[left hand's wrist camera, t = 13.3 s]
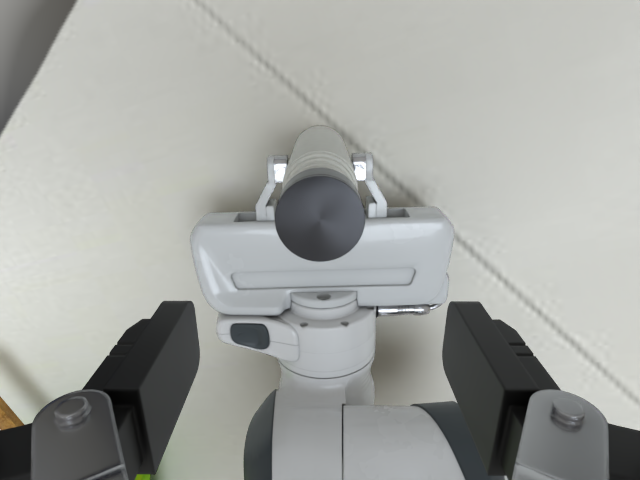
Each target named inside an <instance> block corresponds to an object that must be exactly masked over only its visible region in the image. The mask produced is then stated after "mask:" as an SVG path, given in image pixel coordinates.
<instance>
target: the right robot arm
mask: <svg viewBox="0 0 640 480" xmlns="http://www.w3.org/2000/svg"><path fill="white" fill-rule="evenodd" d="M351 161H352V164H353V168H354V171H355V174H356V177H357V180H364V182H365V184H366V185H367V187H368V189H369V190H370V192H371V194H372V196H367V197H366V208H364V211H365V227H364V231H363V234H362V236H361V238H360V240H359V241H358V243H357V244H356V245H355V247H354V248H353V249H352V250H351V251H349V252H348V253H347V254H345V255H343V256H342V257H340V258H337V259H335V260H331V261H325V262H315V261H309V260H306V259H303V258H300V257H298V256H296V255H295V254H293V253H292V252H291V251H289V250H288V249H287V248H286V247H285V245H284V244H283V243H282V241H281V240H280V238H279V236H278V234H277V231H276V227H275V211H276V207H277V203H276V199H275V198H273V199H269V198H270V196H271V194H272V192H273V190H274V188H275V186H276V184H277V183H282V182H283V177H284V174H285V171H286V168H287V166H288V163H289V161H288V155H270V156H268V158H267V172H268V181H267V183H266V185H265V187H264V189H263V191H262V193H261V195H260V197H259V200H258V202H257V204H256V206H255V208H256V211H252V212H215V213H207V214H206V215H204V216H203V217H202V219H201V220H200V221H199V222H198V223H197V224H196V226H195V227H194V229H193V230H192V233H191V236H190V243H191V250H192V256H193V261H194V265H195V269H196V273H197V277H198V281H199V284H200V287H201V290H202V293H203V295H204V297H205V299H206V301H207V302H208V304H209V305H210V306H211V307H212V308H213V309H214V310H216V311H218V312H219V315H218V319H217V326H216V331H217V336H218V338H219V339H220V340H221V341H222V342H224V343H227V344H230V345H234V346H239V347H243V348H247V349H251V350H254V351H258V352H261V353H265V354H268V355H271V356H274V357H276V358H277V360H278V362H279V365H280V368H281V373H282V374H281V378H280V382H279V389H278V390H277V389H275V390H274V391H273V392H272V393H271V394H270V395H269V396H268V397H267V398H266V400H265V401H264V402H263V404H262V405H261V406H260V408H259V409H258V410H257V412H256V413H255V415H254V416H253V418H252V420H251V423H250V425H249V428H248V432H247V436H246V441H245V448H244V480H508V479H507V476H488V475H487V472H486V470H485V468H484V465H483V463H482V460H481V458H480V456H479V453H478V451H477V448H476V446H475V443H474V441H473V439H472V436H471V434H470V431H469V429H468V427H467V424H466V422H465V419H464V417H463V415H462V412H461V410H460V407H459V405H458V403H456V402H454V401H449V402H436V403H424V404H413V405H410V406H375V405H374V394H375V390H374V381H373V377H372V375H371V365H372V363H373V360H374V357H375V348H376V317H377V316H398V315H405V314H413V315H425V314H429V312H430V310H433V309H436V308H437V307H439V306H441V305H442V304H443V303H444V302H445V301H446V299H447V296H448V286H449V276H448V273H447V269H448V265H449V261H450V257H451V252H452V246H453V240H454V227H453V224H452V223H451V221H450V220H449V219H448V217H447V216H446V215H445V214H444V213H443V212H442V211H441V210H440V209H439V208H437V207H432V206H430V207H395V208H387V201H386V199H385V197H384V195H383V194H382V192H381V190H380V188H379V187H378V185H377V183H376V181H375V180H374V178H373V156H372V154H371V153H352V155H351ZM429 304H433V305H429Z"/></svg>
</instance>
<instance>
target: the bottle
mask: <svg viewBox="0 0 640 480" xmlns="http://www.w3.org/2000/svg"><path fill="white" fill-rule="evenodd" d="M311 168H329V169H333V170H336V171H338V172H340V173H342V174H344V175H345V176H346V177H348V178H349V179H350V180H351V181H352V182H353V184H354V185H355V186H356V188H357V190H358V182H357V177H356V174H355V171H354V168H353V165H352V163H351V160H350V157H349V154H348V151H347V148H346V145H345V142H344V140H343V138H342V137H341V135H340V134H339V133H338V132H337V131H335V130H334V129H332V128H330V127H327V126H313V127H310V128H308V129H306V130H305V131H303V132H302V133H301V134H300V135H299V137H298V138H297V140H296V142H295V145H294V148H293V151H292V154H291V157H290V160H289V163H288V166H287V168H286V171H285V174H284V177H283V182H282V190H283V188H284V186H285V185H286V184H287V182H288V181H289V180H290V179H291V178H292V177H294V176H295V175H297V174H298V173H300V172H302V171H304V170H307V169H311Z"/></svg>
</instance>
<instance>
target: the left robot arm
mask: <svg viewBox="0 0 640 480" xmlns="http://www.w3.org/2000/svg"><path fill="white" fill-rule="evenodd" d="M442 357H443V366H444V370H445V374H446V376H447V378H448V381H449V383H450V386H451V388H452V390H453V393H454V395H455V398H456V400H457V403H458V405H459V407H460V410H461V412H462V415H463V417H464V419H465V422H466V424H467V427H468V429H469V431H470V434H471V436H472V439H473V441H474V443H475V446H476V448H477V451H478V453H479V456H480V458H481V460H482V463H483V465H484V468H485V470H486V472H487V475H488V476H507V479H508V480H640V431H638V430H633V429H629V428H625V427H620V426H616V425H612V424H609V423H607V421H606V418H605V417H604V415H603V414H602V413H601V412H600V411H599V410H598V409H597V408H596V407H595V406H594V405H592V404H591V403H590V402H588V401H586V400H585V399H583V398H581V397H579V396H577V395H574V394H571V393H569V392H565V391H561V390H560V388H559V387H558V386H557V384H556V383H555V382H554V380H553V379H552V378H551V376H550V375H549V374H548V372H547V371H546V370H545V368H544V367H543V366H542V364H541V363H540V362H539V361H538V359H537V358H536V357H535V356H533V353H532V351H531V350H530V349H529V347H528V346H526V345H525V342H524V341H523V339H522V338H521V337H520V335H519V334H518V333H517V331H516V330H514V329H513V328H511V327H510V326H508V325H507V324H506V323H504V322H503V321H501V320H492V319H491V317H490V316H489V315H488V313H487V312H486V310H485V309H484V307H483V306H482V304H481V303H480V302H450V303H449V306H448V310H447V318H446V326H445V334H444V342H443V351H442ZM199 358H200V349H199V340H198V332H197V324H196V316H195V308H194V304H193V302H192V301H163V302H162V303H161V304H160V306H159V307H158V309H157V310H156V312H155V313H154V315H153V316H152V318H151V319H142V320H140V321H139V322H137V323H136V324H135V325H133V326H132V327H130V328H129V329H127V330H126V332H125V333H124V334H123V336H122V337H121V338H120V340H119V341H118V342H117V345H115V346H114V348H113V349H112V350H111V352H110V355H109V356H107V357H106V358H105V360H104V361H103V362H102V364H101V365H100V366H99V368H98V369H97V370H96V372H95V373H94V374H93V376H92V377H91V378H90V380H89V381H88V382H87V384H86V385H85V386H84V388H83V389H82V390H80V391H75V392H71V393H69V394H66V395H63V396H61V397H59V398H57V399H55V400H54V401H52V402H50V403H49V404H48V405H46V406H45V407H44V408H43V409H42V410H41V411H40V412H39V413H38V414H37V415H36V417H35V418H34V421H33V423H31V424H27V425H22V426H18V427H14V428H9V429H5V430H0V480H135V478H136V476H137V474H156V471H157V469H158V466H159V464H160V461H161V459H162V456H163V454H164V452H165V449H166V447H167V444H168V442H169V439H170V437H171V434H172V432H173V430H174V427H175V425H176V422H177V420H178V417H179V415H180V412H181V410H182V408H183V405H184V403H185V400H186V398H187V395H188V393H189V390H190V388H191V386H192V383H193V381H194V378H195V376H196V373H197V370H198V366H199Z"/></svg>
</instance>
